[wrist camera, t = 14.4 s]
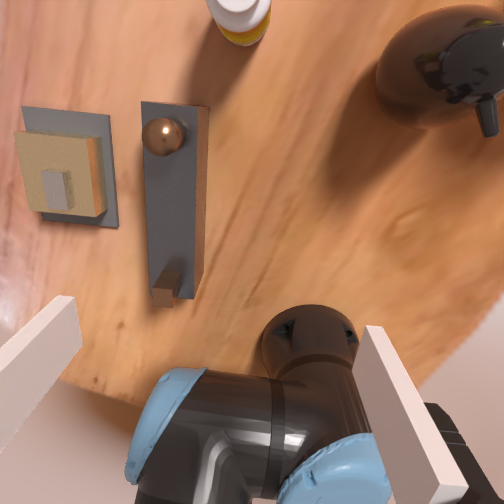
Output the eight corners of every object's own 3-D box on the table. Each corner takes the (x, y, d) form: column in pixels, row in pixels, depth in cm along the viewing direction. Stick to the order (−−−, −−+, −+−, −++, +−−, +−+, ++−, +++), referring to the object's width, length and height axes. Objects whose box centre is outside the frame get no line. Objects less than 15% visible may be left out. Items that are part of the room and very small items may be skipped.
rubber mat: (119, 225, 43) (117, 227, 43) (46, 218, 43) (43, 220, 43) (109, 115, 37) (107, 115, 37) (25, 106, 37) (21, 106, 37)
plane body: (203, 272, 46) (186, 318, 36) (165, 269, 46) (138, 314, 36) (209, 107, 37) (189, 107, 27) (162, 102, 37) (124, 100, 27)
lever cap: (108, 208, 42) (92, 219, 38) (47, 202, 42) (25, 212, 38) (101, 136, 38) (82, 140, 34) (34, 129, 38) (8, 132, 34)
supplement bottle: (279, 26, 33) (286, -4, 24) (235, 58, 35) (225, 41, 25) (252, -32, 31) (248, -89, 22) (206, 4, 33) (184, -36, 23)
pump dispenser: (368, 138, 38) (430, 157, 24) (360, 37, 34) (428, -11, 20) (459, 116, 36) (579, 122, 23) (461, 8, 32) (610, -65, 18)
